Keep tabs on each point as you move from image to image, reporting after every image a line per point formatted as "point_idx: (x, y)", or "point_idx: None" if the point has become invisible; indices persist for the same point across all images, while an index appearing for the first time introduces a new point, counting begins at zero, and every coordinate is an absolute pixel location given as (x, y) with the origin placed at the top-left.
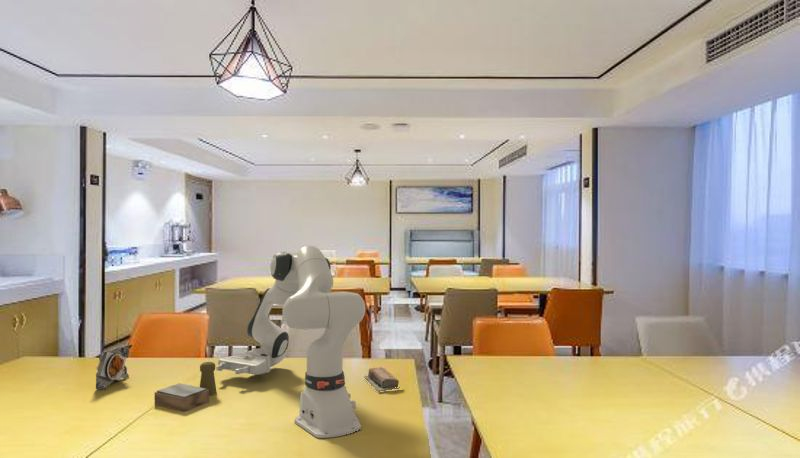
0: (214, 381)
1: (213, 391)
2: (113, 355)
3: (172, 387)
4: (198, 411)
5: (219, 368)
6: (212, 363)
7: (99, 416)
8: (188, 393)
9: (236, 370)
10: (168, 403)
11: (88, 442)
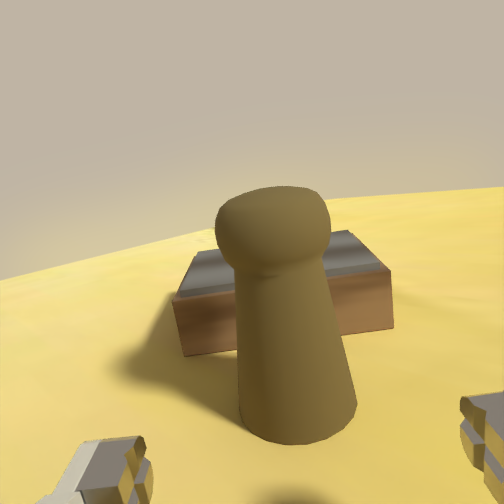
0: (241, 344)
1: (239, 389)
2: None
3: (338, 247)
4: (155, 314)
5: (466, 419)
6: (227, 204)
7: (376, 229)
8: (211, 259)
9: (120, 440)
10: None
11: None
